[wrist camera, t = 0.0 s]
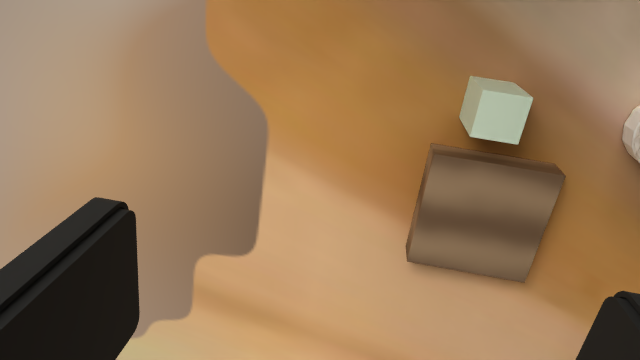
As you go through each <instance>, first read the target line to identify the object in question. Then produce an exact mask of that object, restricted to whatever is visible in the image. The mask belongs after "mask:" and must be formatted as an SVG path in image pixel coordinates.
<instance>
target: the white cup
mask: <svg viewBox="0 0 640 360" xmlns="http://www.w3.org/2000/svg"><path fill="white" fill-rule="evenodd" d="M622 141H623V143H624V145H625V147H626V150H627V152H628V153H629V154H630V155H631V156H632V157H633V158H634V159H636V160H637V161H638V162H639V163H640V105H639V106H637V107H636V108H635V109H633V111H632V112H631V114H630V116H629V117H628V119H627V120H626V122H625V123H624V128H623V136H622Z"/></svg>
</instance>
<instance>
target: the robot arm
mask: <svg viewBox="0 0 640 360" xmlns="http://www.w3.org/2000/svg"><path fill="white" fill-rule="evenodd" d="M136 239H137V238H136V217H135V214H134V212H133V211H131V210H128V206H127V204H126V203H125V202H121V201H115V200H109V199H104V198H93V199H92V200H90V201H89V202H88V203H86V204H85V205H84V206H82V207H81V208H80V209H79V210H77V211H76V212H75V213H74V214H72V215H71V216H69V217H68V218H67V219H66V220H64V221H63V222H62V223H60V224H59V225H58V226H57V227H55V228H54V229H52V230H51V231H50V232H49V233H47V234H46V235H45V236H43V237H42V238H41V239H39V240H38V241H37V242H36V243H34V244H33V245H32V246H30V247H29V248H28V249H27V250H25V251H24V252H23V253H21V254H20V255H19V256H17V257H16V258H15V259H14V260H12V261H11V262H10V263H8V264H7V265H6V266H4V267H3V268H2V269H0V360H115V359H116V358H117V357H118V355H119V354H120V352H121V351H122V349H123V348H124V346H125V345H126V344H127V342H128V341H129V339H130V338H131V336H132V335H133V333H134V332H135V330H136V328H137V325H138V321H139V292H138V291H139V290H138V266H137V240H136ZM576 360H640V294H637V293H631V292H626V291H620V292H618V293H617V294H615V295H614V297H608V298H607V299H605V301H604V302H603V304H602V306H601V308H600V310H599V312H598V314H597V317H596V319H595V321H594V323H593V325H592V327H591V329H590V331H589V333H588V335H587V337H586V339H585V341H584V344H583V346H582V348H581V350H580V352H579V354H578V356H577V358H576Z"/></svg>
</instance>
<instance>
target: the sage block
mask: <svg viewBox="0 0 640 360" xmlns="http://www.w3.org/2000/svg"><path fill="white" fill-rule="evenodd" d="M532 101H533V97H532V96H530V95H529V94H528V93H527V92H525V91H524V90H523V89H522V88H520V87H519V86H518V85H516V84H515V83H514V82H507V81H501V80H495V79H488V78H482V77H475V76H470V78H469V82H468V86H467V89H466V93H465V97H464V101H463V104H462V108H461V112H460V116H459V118H460V120H461V122H462V123H463V125H464V127H465V129H466V131H467V132H468V134H469V136H470V137H474V138H480V139H486V140H492V141H498V142H505V143H511V144H517V145H518V143H519V140H520V137H521V134H522V131H523V128H524V125H525V122H526V119H527V116H528V113H529V110H530V107H531V104H532Z"/></svg>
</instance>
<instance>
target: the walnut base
mask: <svg viewBox="0 0 640 360" xmlns="http://www.w3.org/2000/svg"><path fill="white" fill-rule="evenodd" d="M564 179H565V174H564V173H563V172H562V171H561V170H560V169H559V168H558V167H557V166H556V165H555V164H553V163H547V162H541V161H535V160H529V159H523V158H517V157H511V156H505V155H499V154H493V153H486V152H480V151H474V150H468V149H462V148H456V147H450V146H444V145H438V144H432V143H431V146H430V150H429V154H428V158H427V162H426V166H425V170H424V174H423V178H422V182H421V186H420V190H419V194H418V198H417V202H416V207H415V211H414V215H413V219H412V223H411V227H410V231H409V235H408V239H407V243H406V255H407V262H413V263H418V264H424V265H429V266H435V267H440V268H446V269H451V270H457V271H463V272H468V273H474V274H479V275H485V276H490V277H496V278H501V279H507V280H512V281H518V282H524V283H525V280H526V278H527V275H528V272H529V270H530V267H531V265H532V262H533V259H534V257H535V254H536V252H537V249H538V246H539V244H540V241H541V239H542V236H543V233H544V231H545V228H546V226H547V223H548V220H549V218H550V215H551V213H552V210H553V208H554V205H555V202H556V200H557V197H558V195H559V192H560V189H561V187H562V184H563V182H564Z"/></svg>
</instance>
